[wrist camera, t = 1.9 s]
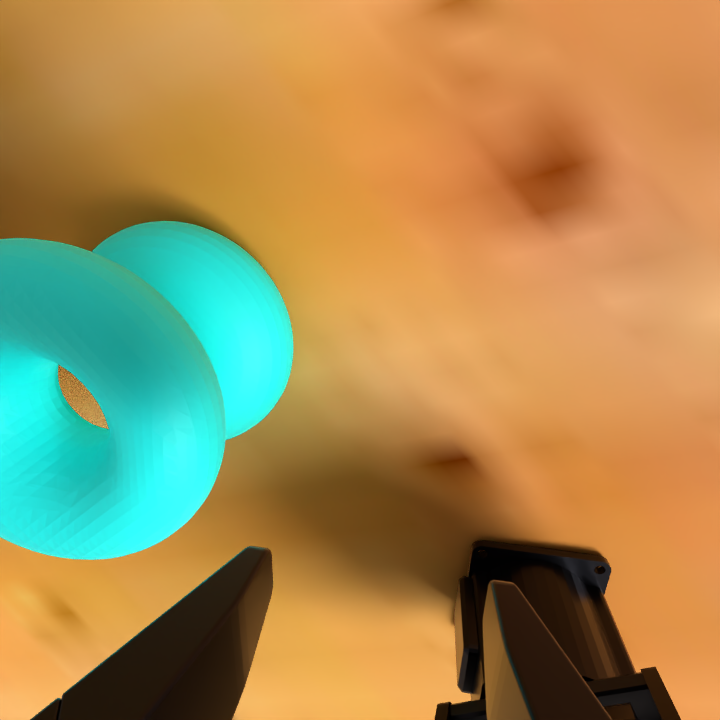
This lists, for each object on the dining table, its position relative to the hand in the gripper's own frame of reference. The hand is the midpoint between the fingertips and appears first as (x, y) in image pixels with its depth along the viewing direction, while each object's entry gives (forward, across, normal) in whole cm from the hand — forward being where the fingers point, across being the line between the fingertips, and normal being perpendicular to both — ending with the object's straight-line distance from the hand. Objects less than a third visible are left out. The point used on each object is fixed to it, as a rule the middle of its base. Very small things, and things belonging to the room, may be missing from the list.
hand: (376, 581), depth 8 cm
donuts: (+13, +10, 0) cm, 17 cm away
